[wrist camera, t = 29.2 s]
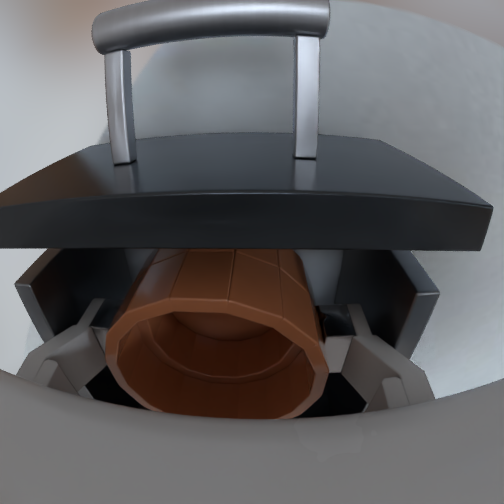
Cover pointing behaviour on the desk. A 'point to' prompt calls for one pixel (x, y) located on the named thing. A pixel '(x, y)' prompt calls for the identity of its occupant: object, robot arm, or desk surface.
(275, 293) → the terracotta cup
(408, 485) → the robot arm
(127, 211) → the drawer
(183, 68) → the desk surface
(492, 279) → the desk surface
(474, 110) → the desk surface
